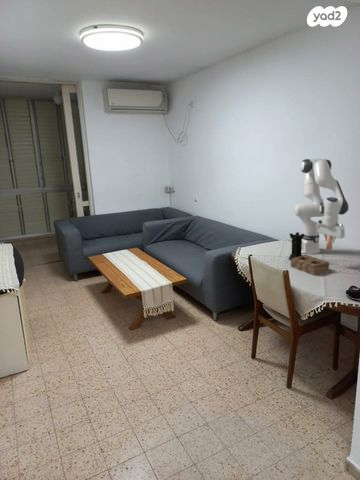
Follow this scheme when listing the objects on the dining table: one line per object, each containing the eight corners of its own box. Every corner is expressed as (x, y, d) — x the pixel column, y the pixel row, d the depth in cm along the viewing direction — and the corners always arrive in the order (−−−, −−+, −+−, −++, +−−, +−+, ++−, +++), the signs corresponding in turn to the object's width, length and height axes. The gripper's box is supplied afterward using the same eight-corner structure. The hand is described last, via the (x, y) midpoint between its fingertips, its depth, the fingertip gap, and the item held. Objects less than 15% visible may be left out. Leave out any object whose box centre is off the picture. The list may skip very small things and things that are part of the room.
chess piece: (296, 257, 250) (297, 232, 244) (304, 260, 242) (305, 234, 237) (288, 259, 247) (288, 233, 242) (295, 262, 240) (296, 236, 234)
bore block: (290, 266, 232) (291, 258, 231) (305, 262, 238) (305, 254, 237) (313, 275, 215) (313, 266, 213) (328, 270, 221) (329, 262, 219)
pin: (325, 248, 227) (326, 234, 224) (328, 247, 228) (329, 233, 225) (329, 250, 224) (330, 235, 221) (333, 248, 225) (334, 234, 222)
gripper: (347, 224, 213) (346, 244, 217) (322, 218, 230) (321, 237, 234) (340, 225, 210) (339, 246, 214) (315, 220, 228) (314, 239, 232)
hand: (329, 241), depth 224 cm, fingers closed on pin, 3 cm apart
